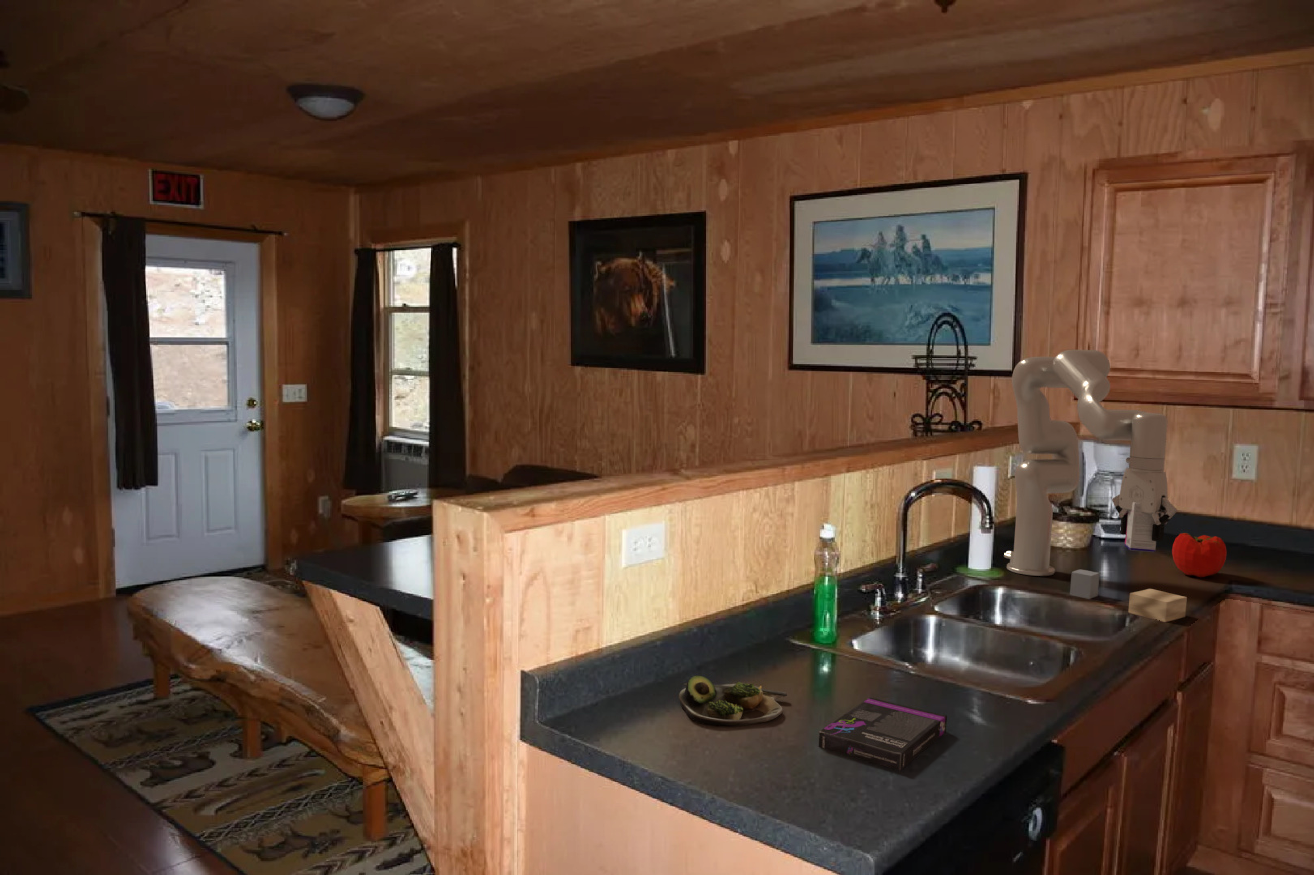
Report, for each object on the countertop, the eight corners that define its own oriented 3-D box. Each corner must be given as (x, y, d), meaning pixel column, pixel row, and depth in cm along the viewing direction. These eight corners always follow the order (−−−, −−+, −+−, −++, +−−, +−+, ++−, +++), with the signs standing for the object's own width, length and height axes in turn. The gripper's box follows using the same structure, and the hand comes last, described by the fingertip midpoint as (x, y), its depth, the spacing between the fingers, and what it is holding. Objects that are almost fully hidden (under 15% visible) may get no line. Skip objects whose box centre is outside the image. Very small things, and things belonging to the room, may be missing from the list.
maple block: (1128, 613, 241) (1129, 593, 240) (1148, 608, 246) (1150, 588, 245) (1164, 623, 233) (1166, 602, 233) (1185, 617, 238) (1186, 597, 238)
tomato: (1173, 577, 277) (1177, 536, 276) (1168, 566, 290) (1171, 527, 289) (1228, 583, 272) (1231, 541, 271) (1220, 572, 285) (1224, 531, 284)
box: (869, 715, 174) (816, 749, 158) (870, 696, 173) (817, 728, 158) (947, 735, 165) (899, 773, 150) (948, 715, 165) (900, 751, 150)
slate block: (1069, 594, 256) (1071, 572, 255) (1078, 591, 259) (1080, 569, 259) (1089, 599, 252) (1091, 575, 252) (1097, 595, 256) (1099, 573, 255)
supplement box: (1156, 552, 236) (1160, 504, 235) (1129, 550, 238) (1132, 503, 236) (1150, 547, 242) (1153, 500, 241) (1123, 545, 243) (1127, 499, 242)
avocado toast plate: (771, 687, 185) (772, 662, 184) (807, 724, 168) (808, 698, 167) (670, 693, 181) (670, 668, 180) (695, 732, 163) (696, 705, 163)
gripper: (1104, 460, 244) (1099, 531, 245) (1169, 470, 228) (1163, 545, 230) (1125, 459, 247) (1120, 529, 249) (1190, 468, 232) (1184, 543, 233)
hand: (1141, 536), depth 239 cm, fingers closed on supplement box, 7 cm apart
